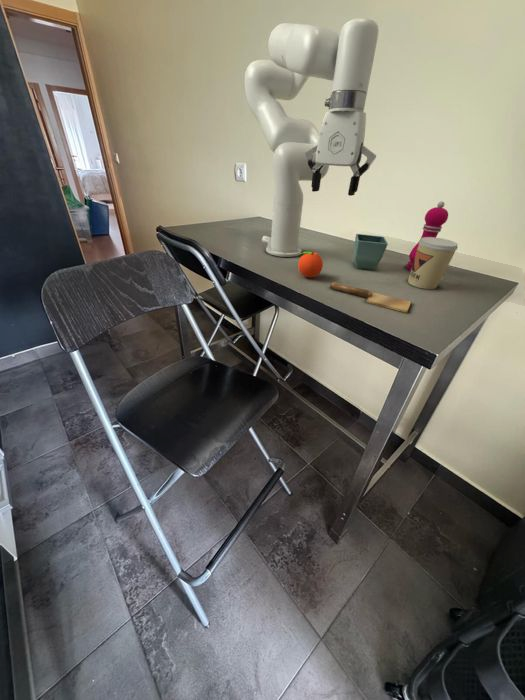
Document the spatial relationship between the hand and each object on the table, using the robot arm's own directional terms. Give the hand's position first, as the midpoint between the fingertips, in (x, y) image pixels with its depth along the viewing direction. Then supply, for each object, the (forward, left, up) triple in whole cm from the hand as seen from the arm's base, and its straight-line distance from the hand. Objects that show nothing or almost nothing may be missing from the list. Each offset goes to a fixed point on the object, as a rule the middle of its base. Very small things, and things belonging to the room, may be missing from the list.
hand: (332, 193), depth 72 cm
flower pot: (+9, +16, -22) cm, 28 cm away
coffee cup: (+27, +12, -22) cm, 37 cm away
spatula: (+16, -8, -21) cm, 28 cm away
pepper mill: (+24, +25, -22) cm, 41 cm away
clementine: (-2, -4, -22) cm, 22 cm away
